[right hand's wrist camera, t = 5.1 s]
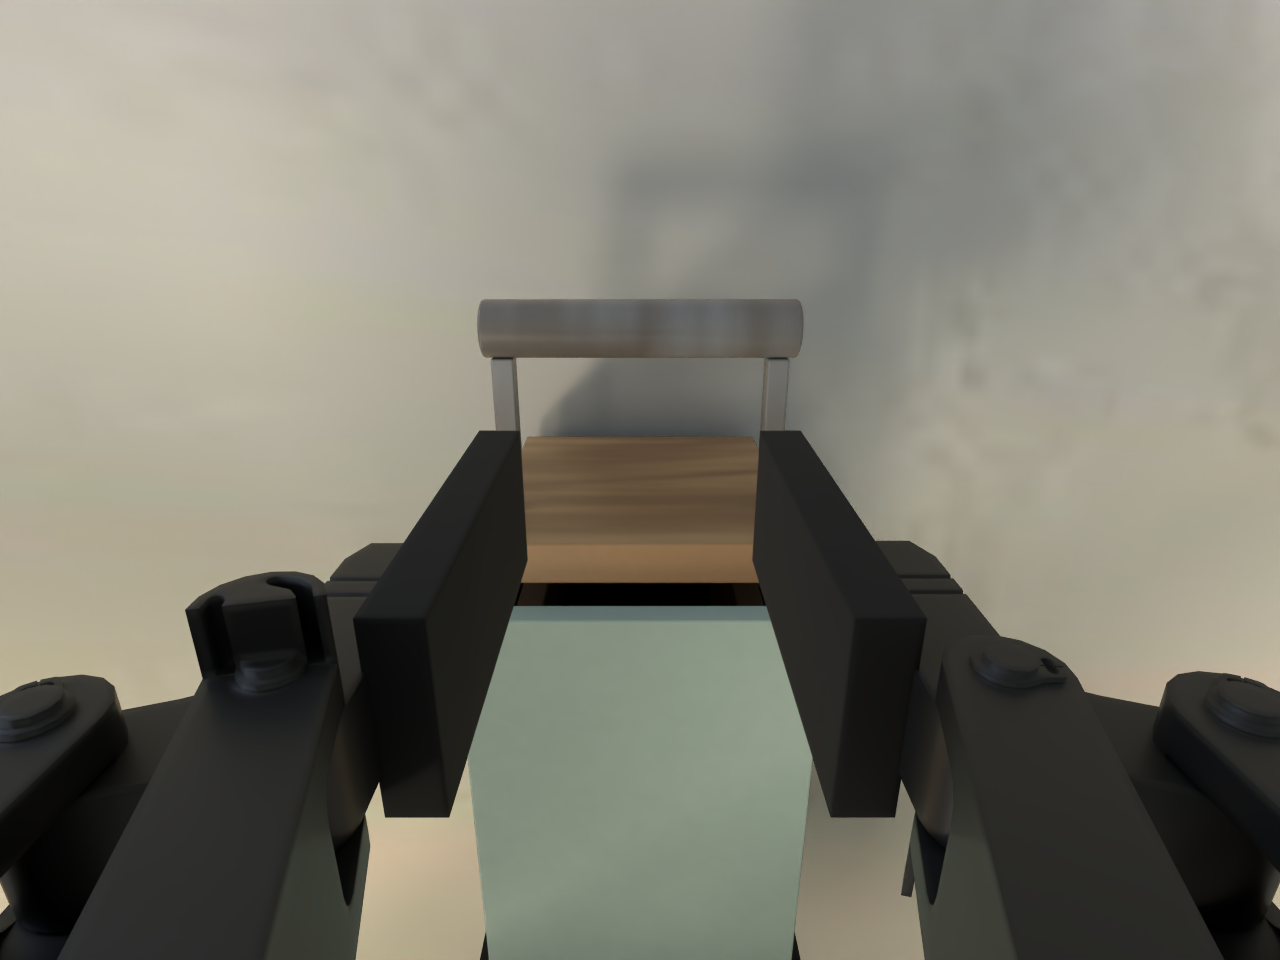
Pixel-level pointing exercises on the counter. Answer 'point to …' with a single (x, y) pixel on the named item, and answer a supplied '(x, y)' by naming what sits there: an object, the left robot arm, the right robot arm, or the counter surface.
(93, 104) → the counter surface
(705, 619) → the cabinet
